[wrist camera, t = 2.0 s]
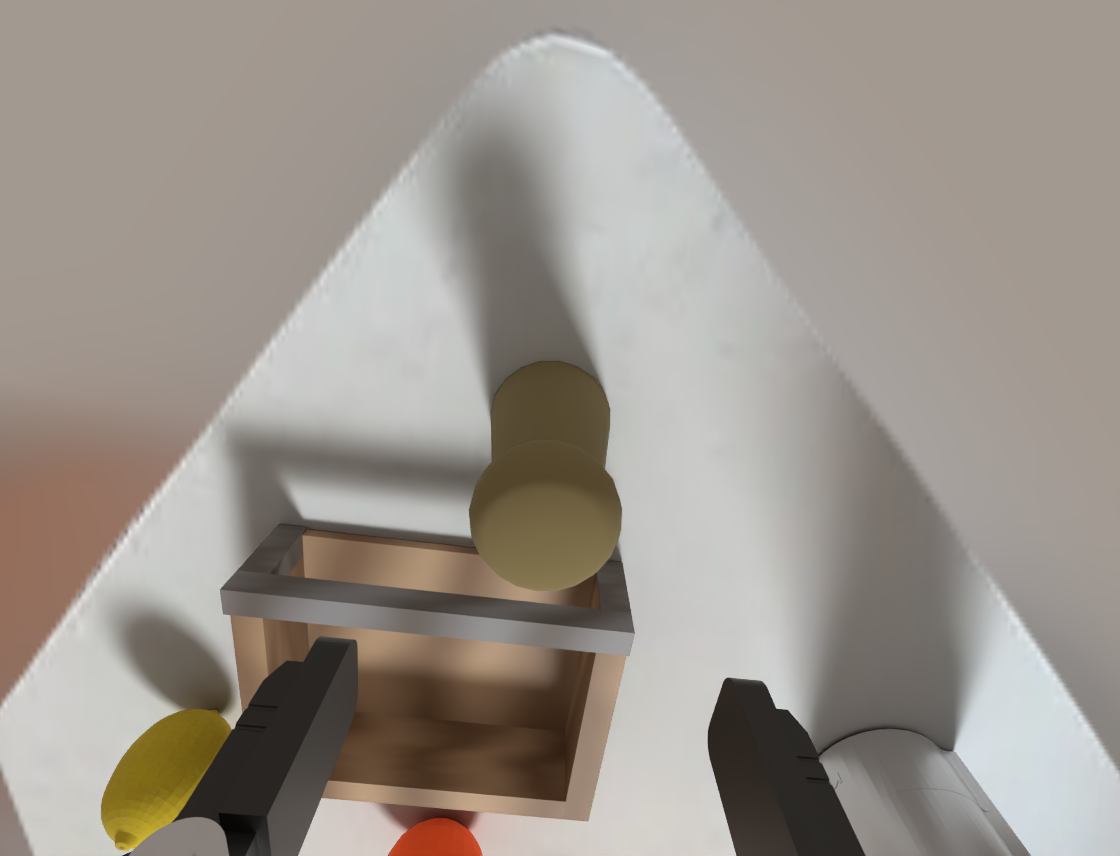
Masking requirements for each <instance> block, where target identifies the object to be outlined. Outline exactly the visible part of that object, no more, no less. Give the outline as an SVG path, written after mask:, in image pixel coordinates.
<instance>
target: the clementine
mask: <svg viewBox="0 0 1120 856" xmlns="http://www.w3.org/2000/svg"><path fill="white" fill-rule="evenodd" d="M388 856H482V852H481V849H480V847H479V845H478V843H477V841H476V839H475V838H474V836H473V834H472V833H471V832H470V831H469V830H468V829H467V828H465V827H464V826H462V825H461V824H459V823H458V822H456V821H454V820H451V819H447V818H433V819H429V820H426V821H423V822H421V823H418V824H416V825H415V826H413V827H412V828H410V829H409V830H408V831H407V832H406V833H404V834H403V835H402V836H401V837H400V839H399V840H398V841H397V843H396V844H395V845H394V847H393V848H392V850H391V851H390V853H389V854H388Z"/></svg>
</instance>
